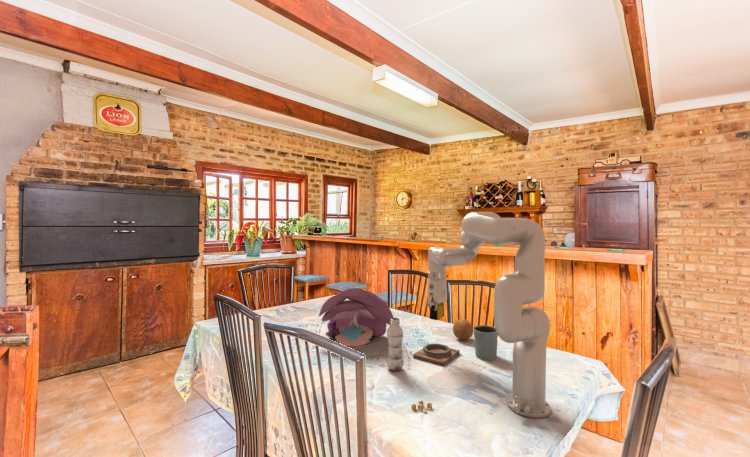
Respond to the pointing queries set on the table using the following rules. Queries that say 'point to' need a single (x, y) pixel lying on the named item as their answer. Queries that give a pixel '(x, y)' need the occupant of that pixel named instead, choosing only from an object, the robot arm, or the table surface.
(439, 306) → the lemon
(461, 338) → the onion
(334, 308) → the purple shell playhouse
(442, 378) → the table surface
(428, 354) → the holder
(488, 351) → the grey cup
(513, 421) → the table surface
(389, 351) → the plastic bottle
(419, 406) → the dice set
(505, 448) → the table surface
